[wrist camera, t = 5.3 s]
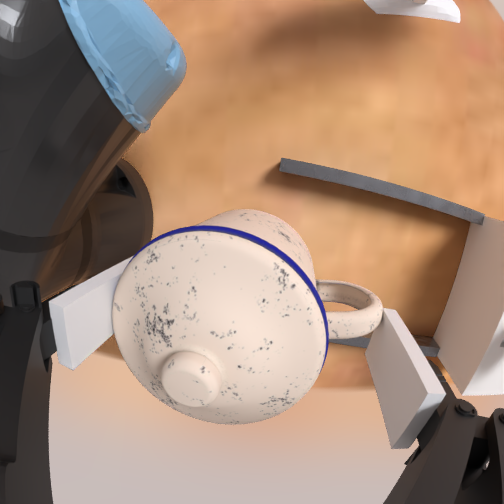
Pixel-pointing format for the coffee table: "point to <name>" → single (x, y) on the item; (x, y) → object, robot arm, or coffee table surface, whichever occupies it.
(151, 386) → the teacup with lid
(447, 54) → the coffee table surface
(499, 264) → the end cabinet
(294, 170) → the pair of grey rails
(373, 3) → the heart sculpture
